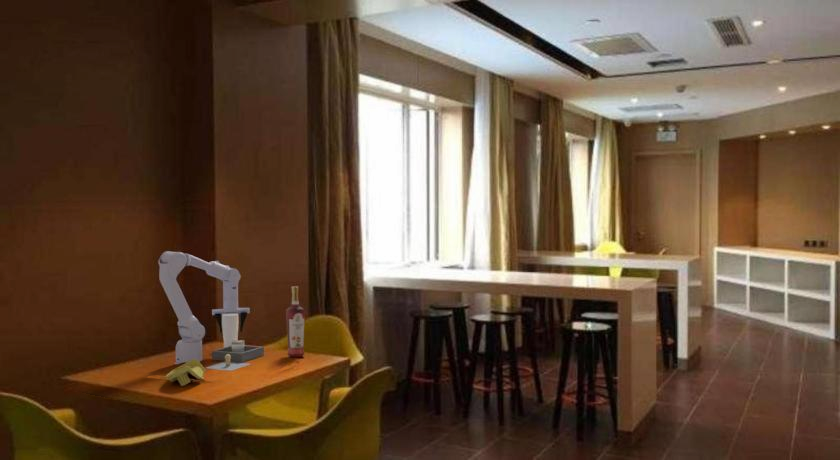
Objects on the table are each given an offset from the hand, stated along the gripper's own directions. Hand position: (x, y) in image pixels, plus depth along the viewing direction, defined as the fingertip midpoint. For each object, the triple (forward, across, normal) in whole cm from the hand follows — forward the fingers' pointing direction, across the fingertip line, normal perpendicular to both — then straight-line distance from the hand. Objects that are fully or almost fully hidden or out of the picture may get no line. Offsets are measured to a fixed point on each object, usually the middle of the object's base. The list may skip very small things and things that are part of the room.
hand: (231, 331), depth 285 cm
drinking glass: (+10, 0, +14) cm, 17 cm away
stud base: (+10, -2, -23) cm, 25 cm away
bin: (+10, +2, -8) cm, 13 cm away
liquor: (+10, +24, -10) cm, 28 cm away
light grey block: (+9, +2, -8) cm, 13 cm away
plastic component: (+10, -16, -38) cm, 42 cm away
